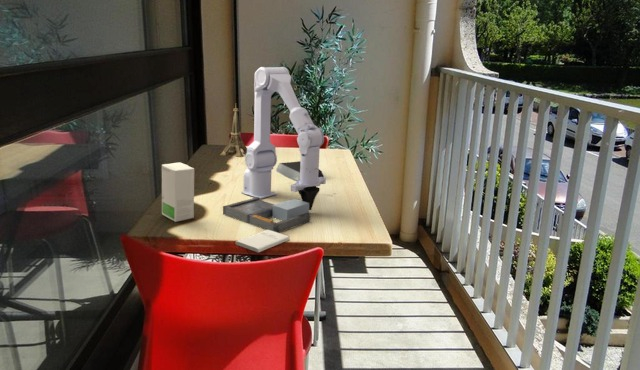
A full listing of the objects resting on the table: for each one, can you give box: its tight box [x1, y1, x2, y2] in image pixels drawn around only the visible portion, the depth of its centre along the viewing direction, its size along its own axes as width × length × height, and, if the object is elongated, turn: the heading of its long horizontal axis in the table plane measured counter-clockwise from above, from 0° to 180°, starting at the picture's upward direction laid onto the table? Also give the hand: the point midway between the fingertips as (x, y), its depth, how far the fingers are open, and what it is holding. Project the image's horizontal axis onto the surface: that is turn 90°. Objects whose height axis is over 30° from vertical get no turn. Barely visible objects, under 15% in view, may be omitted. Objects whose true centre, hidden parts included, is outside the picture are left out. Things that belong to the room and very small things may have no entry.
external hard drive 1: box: [235, 229, 290, 253], centre depth 143 cm, size 2×8×12 cm
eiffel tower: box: [219, 104, 247, 158], centre depth 242 cm, size 11×11×25 cm
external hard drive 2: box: [275, 160, 325, 182], centre depth 214 cm, size 13×19×4 cm
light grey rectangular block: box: [271, 198, 310, 221], centre depth 164 cm, size 6×10×4 cm, turn 140°
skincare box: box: [161, 161, 195, 223], centre depth 158 cm, size 8×7×16 cm
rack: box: [222, 197, 311, 233], centre depth 162 cm, size 23×14×3 cm, turn 51°
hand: (307, 209), depth 169 cm, fingers closed
